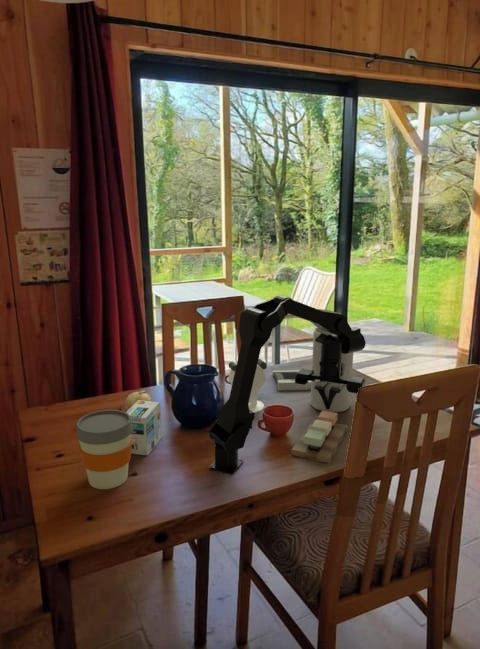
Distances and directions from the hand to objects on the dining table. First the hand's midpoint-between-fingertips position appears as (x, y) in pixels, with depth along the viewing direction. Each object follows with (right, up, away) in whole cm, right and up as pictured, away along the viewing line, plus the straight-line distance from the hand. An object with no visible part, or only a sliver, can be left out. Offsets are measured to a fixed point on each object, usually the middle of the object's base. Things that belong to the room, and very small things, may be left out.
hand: (328, 409), depth 138 cm
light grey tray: (-4, +2, +40) cm, 41 cm away
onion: (-56, -4, +15) cm, 59 cm away
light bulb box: (-51, -9, -6) cm, 52 cm away
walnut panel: (-3, -8, -4) cm, 10 cm away
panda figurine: (-23, -3, +19) cm, 30 cm away
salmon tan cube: (0, -5, +1) cm, 5 cm away
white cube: (-3, -7, -4) cm, 8 cm away
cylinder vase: (+4, -2, +20) cm, 20 cm away
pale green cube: (-5, -8, -10) cm, 14 cm away
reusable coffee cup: (-56, -13, -21) cm, 62 cm away
